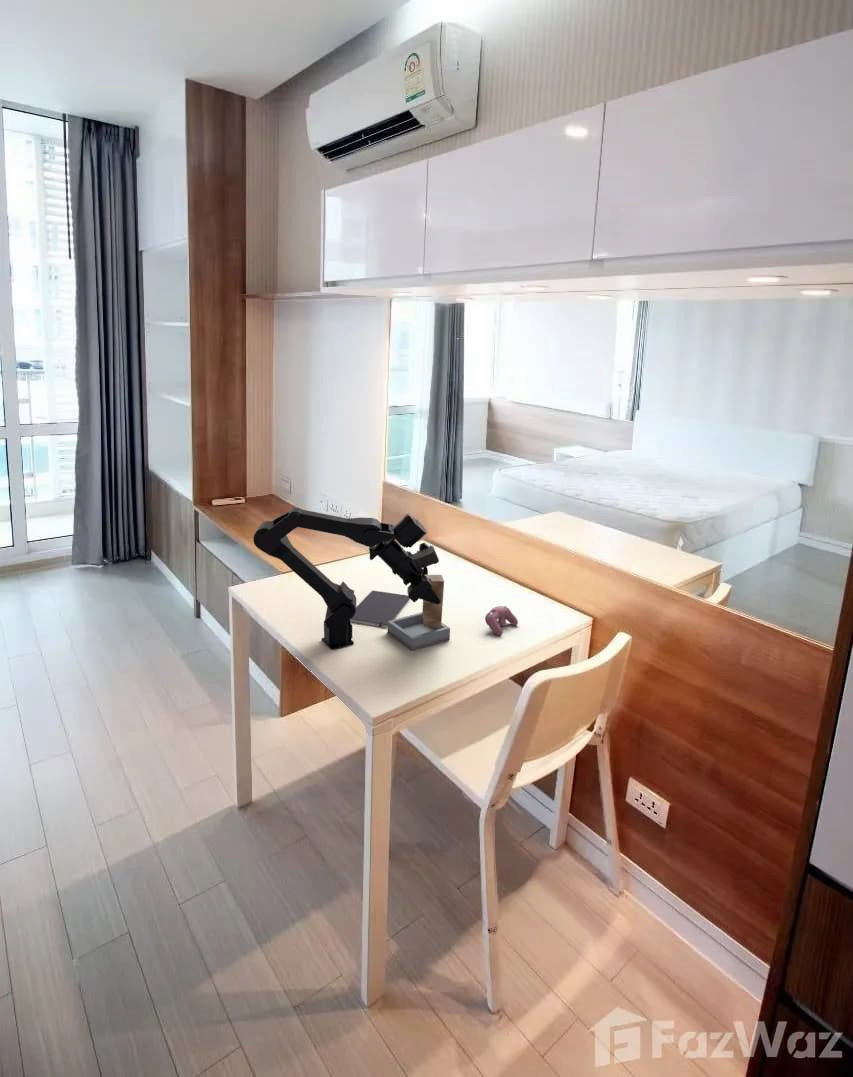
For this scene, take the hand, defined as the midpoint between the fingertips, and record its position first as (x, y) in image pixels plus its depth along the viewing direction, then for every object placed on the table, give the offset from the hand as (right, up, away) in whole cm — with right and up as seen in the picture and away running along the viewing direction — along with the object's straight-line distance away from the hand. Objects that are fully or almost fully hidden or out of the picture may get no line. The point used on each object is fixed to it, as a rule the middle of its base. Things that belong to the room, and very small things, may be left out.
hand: (438, 599), depth 168 cm
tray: (-5, -11, +6) cm, 13 cm away
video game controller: (+18, -9, +13) cm, 24 cm away
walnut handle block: (-2, -6, +2) cm, 7 cm away
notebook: (-17, -6, +22) cm, 28 cm away
